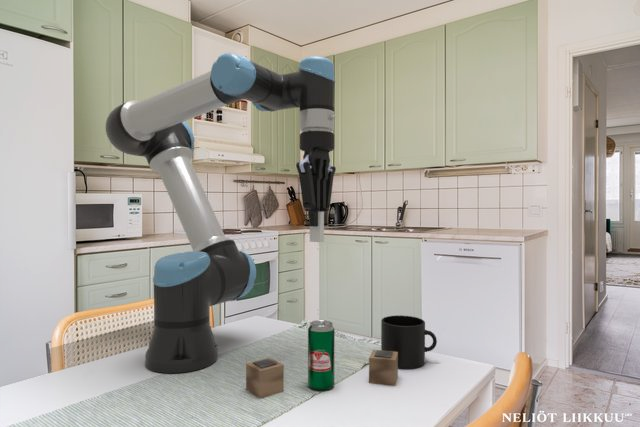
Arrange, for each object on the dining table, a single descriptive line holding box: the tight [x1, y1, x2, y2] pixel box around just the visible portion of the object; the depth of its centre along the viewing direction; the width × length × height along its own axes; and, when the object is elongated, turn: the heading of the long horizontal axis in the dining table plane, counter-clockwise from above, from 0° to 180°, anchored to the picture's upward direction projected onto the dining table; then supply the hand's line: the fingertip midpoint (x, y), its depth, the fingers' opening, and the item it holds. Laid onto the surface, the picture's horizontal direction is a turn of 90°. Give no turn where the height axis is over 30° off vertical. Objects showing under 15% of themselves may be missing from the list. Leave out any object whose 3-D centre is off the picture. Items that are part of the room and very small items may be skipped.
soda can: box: [307, 319, 336, 391], centre depth 83 cm, size 5×5×12 cm
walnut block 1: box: [245, 357, 285, 399], centre depth 81 cm, size 5×5×5 cm
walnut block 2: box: [368, 349, 399, 387], centre depth 86 cm, size 5×5×5 cm
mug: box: [380, 314, 438, 370], centre depth 96 cm, size 9×12×9 cm
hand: (316, 241), depth 95 cm, fingers closed
